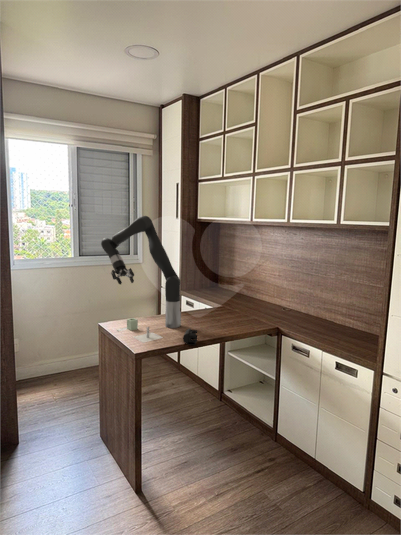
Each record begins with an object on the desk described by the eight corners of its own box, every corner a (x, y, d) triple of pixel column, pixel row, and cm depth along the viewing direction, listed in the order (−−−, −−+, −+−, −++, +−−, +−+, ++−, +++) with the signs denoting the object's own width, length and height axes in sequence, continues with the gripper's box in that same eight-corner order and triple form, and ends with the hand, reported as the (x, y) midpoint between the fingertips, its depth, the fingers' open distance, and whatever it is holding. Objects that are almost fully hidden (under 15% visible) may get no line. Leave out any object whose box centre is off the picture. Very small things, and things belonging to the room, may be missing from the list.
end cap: (185, 339, 214) (185, 327, 213) (197, 339, 213) (197, 328, 212) (182, 344, 204) (182, 333, 203) (195, 345, 203) (195, 334, 202)
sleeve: (133, 328, 229) (133, 317, 228) (137, 330, 225) (137, 319, 224) (126, 330, 225) (126, 319, 224) (130, 331, 222) (130, 320, 221)
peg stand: (152, 334, 220) (152, 322, 219) (163, 340, 211) (163, 327, 210) (131, 339, 210) (131, 327, 209) (143, 345, 202) (143, 332, 200)
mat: (136, 326, 235) (136, 325, 235) (148, 331, 225) (148, 330, 225) (116, 330, 226) (116, 329, 226) (128, 336, 216) (128, 335, 215)
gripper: (109, 260, 229) (118, 280, 223) (129, 258, 239) (138, 278, 232) (105, 267, 234) (114, 287, 227) (125, 265, 243) (134, 285, 237)
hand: (126, 283), depth 230 cm, fingers open, 8 cm apart
